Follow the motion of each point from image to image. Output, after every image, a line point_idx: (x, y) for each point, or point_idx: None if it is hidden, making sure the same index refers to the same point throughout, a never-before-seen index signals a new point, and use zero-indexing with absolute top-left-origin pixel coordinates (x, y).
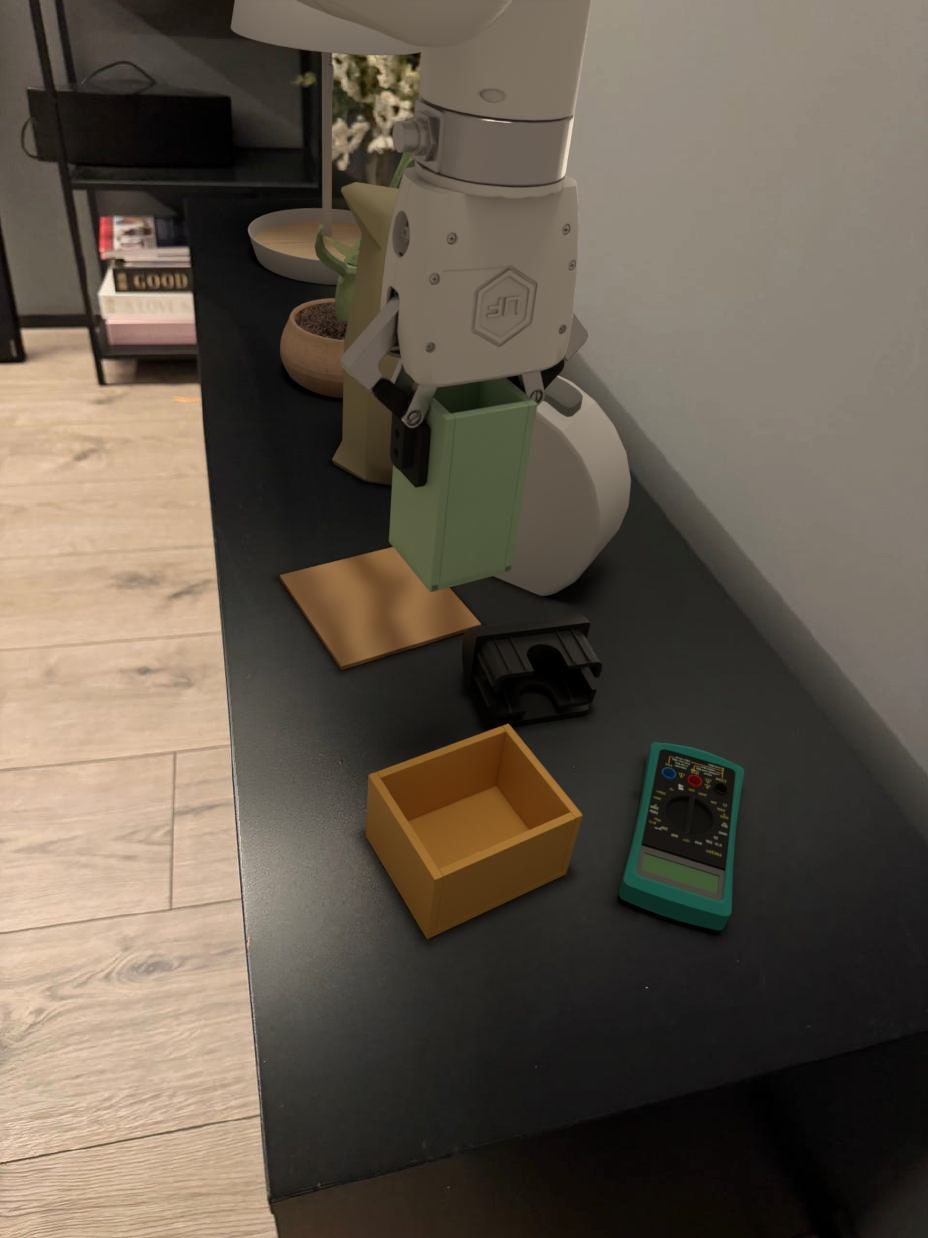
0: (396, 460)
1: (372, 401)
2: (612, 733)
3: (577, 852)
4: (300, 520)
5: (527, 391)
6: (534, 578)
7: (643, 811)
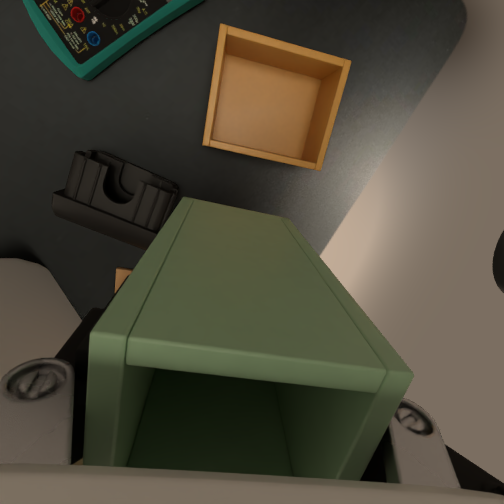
0: None
1: None
2: (95, 123)
3: (200, 56)
4: None
5: (64, 403)
6: (45, 282)
7: (143, 26)
